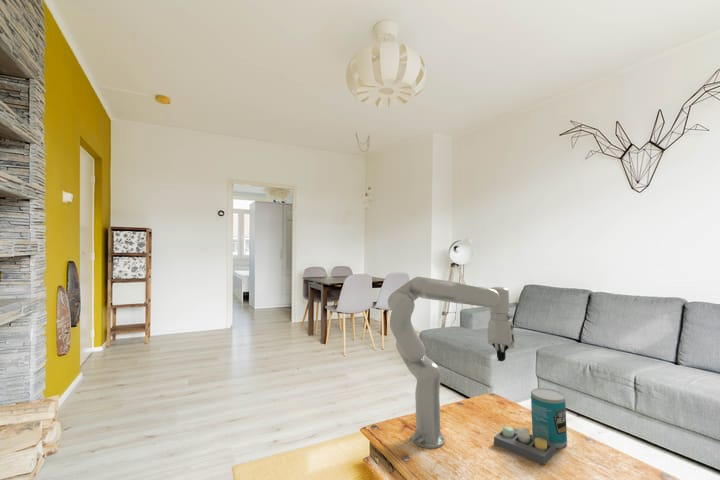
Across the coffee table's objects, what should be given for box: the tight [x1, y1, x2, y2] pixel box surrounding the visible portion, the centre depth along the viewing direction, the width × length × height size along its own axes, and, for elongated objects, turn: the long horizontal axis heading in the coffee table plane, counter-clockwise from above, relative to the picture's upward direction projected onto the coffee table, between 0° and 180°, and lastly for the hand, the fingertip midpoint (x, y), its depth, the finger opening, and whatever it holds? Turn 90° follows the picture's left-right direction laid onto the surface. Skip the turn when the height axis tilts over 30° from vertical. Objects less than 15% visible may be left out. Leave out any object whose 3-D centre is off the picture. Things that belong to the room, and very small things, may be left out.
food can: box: [530, 387, 568, 449], centre depth 136 cm, size 12×12×18 cm
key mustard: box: [535, 438, 547, 452], centre depth 126 cm, size 4×4×4 cm
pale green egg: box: [502, 425, 515, 439], centre depth 135 cm, size 4×4×4 cm
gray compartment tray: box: [493, 427, 557, 466], centre depth 130 cm, size 12×18×3 cm, turn 43°
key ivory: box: [517, 426, 531, 444], centre depth 130 cm, size 4×4×4 cm
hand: (501, 360), depth 144 cm, fingers closed
